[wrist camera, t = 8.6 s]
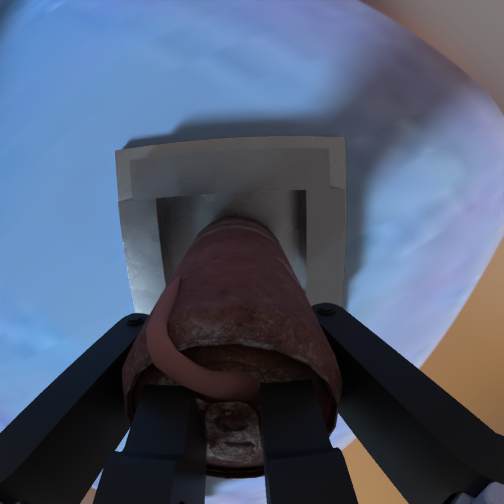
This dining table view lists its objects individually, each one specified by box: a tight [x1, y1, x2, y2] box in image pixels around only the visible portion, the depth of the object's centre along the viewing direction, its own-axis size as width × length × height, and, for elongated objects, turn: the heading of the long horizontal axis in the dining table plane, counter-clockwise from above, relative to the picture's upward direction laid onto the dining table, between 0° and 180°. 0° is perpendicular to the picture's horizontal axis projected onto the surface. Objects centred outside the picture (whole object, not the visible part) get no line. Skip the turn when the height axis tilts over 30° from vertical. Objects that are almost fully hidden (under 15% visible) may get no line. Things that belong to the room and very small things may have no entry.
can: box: [122, 216, 343, 479], centre depth 13 cm, size 6×6×14 cm
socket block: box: [115, 136, 346, 315], centre depth 20 cm, size 16×16×4 cm
